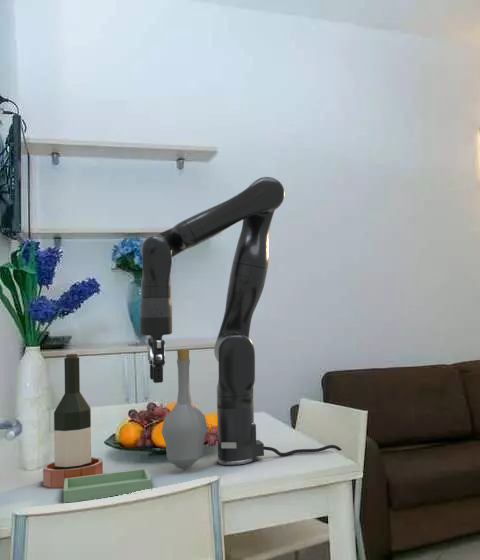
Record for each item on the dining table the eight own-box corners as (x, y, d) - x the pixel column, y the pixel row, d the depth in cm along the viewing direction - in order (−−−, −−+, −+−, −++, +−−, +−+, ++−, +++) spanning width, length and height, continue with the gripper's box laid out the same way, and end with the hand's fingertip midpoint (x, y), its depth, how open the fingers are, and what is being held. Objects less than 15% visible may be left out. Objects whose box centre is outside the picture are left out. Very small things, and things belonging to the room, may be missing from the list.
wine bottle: (98, 475, 166) (96, 352, 167) (83, 484, 158) (81, 355, 158) (64, 476, 166) (62, 353, 166) (47, 485, 157) (45, 356, 158)
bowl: (101, 470, 170) (101, 454, 170) (103, 482, 159) (103, 465, 159) (44, 477, 165) (44, 461, 165) (42, 490, 153) (41, 473, 153)
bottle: (155, 469, 170) (153, 349, 171) (199, 461, 177) (197, 346, 178) (169, 478, 161) (167, 351, 162) (215, 470, 168) (213, 348, 169)
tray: (147, 479, 161) (146, 468, 161) (151, 491, 151) (151, 479, 151) (64, 490, 153) (64, 478, 154) (63, 503, 143) (63, 491, 143)
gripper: (175, 315, 165) (175, 382, 164) (168, 314, 177) (168, 377, 177) (142, 316, 161) (142, 385, 161) (137, 315, 174) (137, 379, 174)
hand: (156, 380), depth 169 cm, fingers open, 8 cm apart
